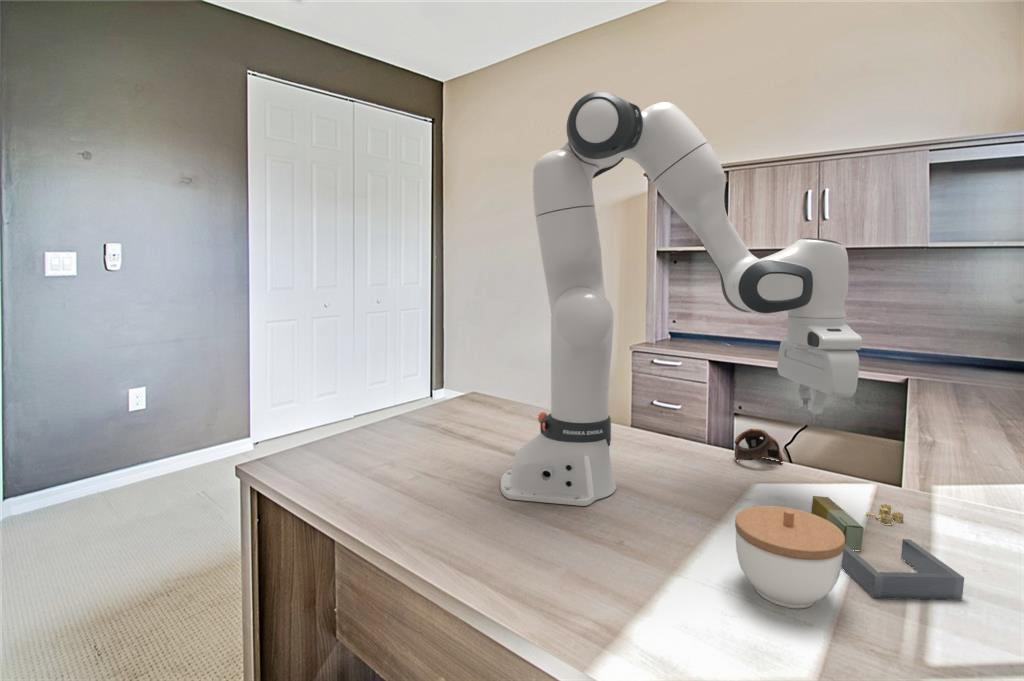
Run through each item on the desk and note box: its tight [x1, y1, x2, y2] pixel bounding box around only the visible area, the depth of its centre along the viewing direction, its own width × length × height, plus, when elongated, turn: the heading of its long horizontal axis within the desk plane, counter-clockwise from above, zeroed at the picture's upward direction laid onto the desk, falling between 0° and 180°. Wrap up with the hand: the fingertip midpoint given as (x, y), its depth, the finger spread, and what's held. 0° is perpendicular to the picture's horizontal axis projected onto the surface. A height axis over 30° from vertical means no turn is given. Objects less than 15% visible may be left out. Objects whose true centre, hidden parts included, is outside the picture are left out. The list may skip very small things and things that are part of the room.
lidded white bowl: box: [734, 505, 845, 609], centre depth 70 cm, size 13×13×11 cm
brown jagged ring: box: [734, 428, 784, 465], centre depth 120 cm, size 12×10×8 cm
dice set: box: [865, 503, 905, 525], centre depth 92 cm, size 5×5×2 cm
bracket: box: [841, 538, 965, 600], centre depth 74 cm, size 11×10×3 cm
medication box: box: [810, 495, 865, 552], centre depth 87 cm, size 12×3×4 cm, turn 174°
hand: (810, 411), depth 96 cm, fingers closed
